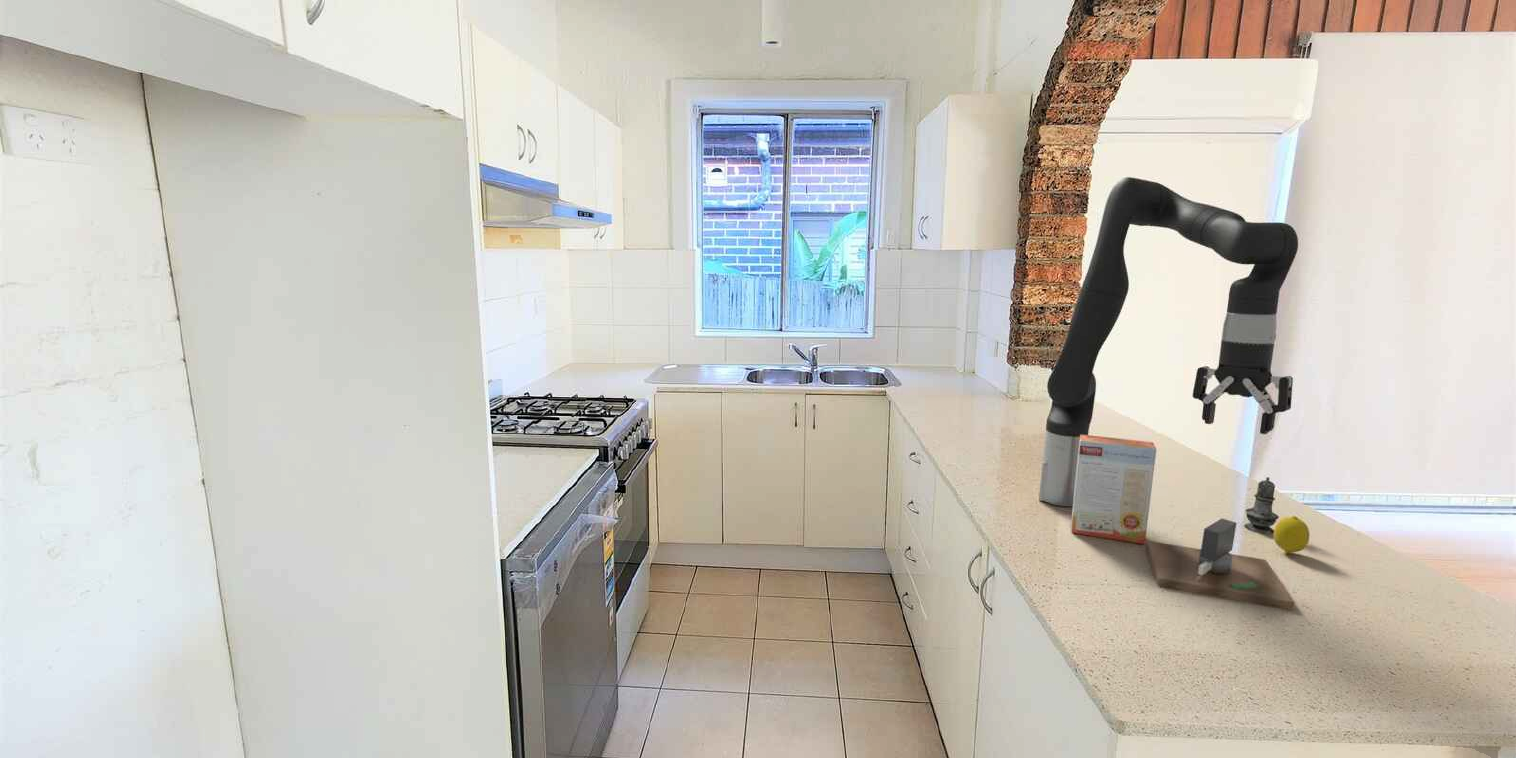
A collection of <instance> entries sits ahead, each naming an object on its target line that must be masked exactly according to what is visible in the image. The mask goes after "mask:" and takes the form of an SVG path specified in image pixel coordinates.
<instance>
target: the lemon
mask: <svg viewBox="0 0 1516 758" xmlns="http://www.w3.org/2000/svg"><path fill="white" fill-rule="evenodd" d="M1273 530H1274V533H1273V540H1274V542H1275V544H1276V545H1277V546H1278V547H1279V548H1280V549H1281V550H1283V551H1284V553H1286V554H1287V555H1289V554H1292V553H1298V552H1301V551H1303V550H1304V549H1305V548H1306V547H1307V546H1308V544H1309V542H1310V541H1309V540H1310V529H1309V527H1308V525H1307V523H1305V522H1304V521H1303V520H1302V519H1300V518H1298V517H1297V516H1295V515H1292V516H1288V517H1284V518H1281V519H1280V520H1279V521H1278V522H1276V525H1275V527H1274V529H1273Z"/></svg>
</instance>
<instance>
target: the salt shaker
mask: <svg viewBox="0 0 1516 758" xmlns="http://www.w3.org/2000/svg"><path fill="white" fill-rule="evenodd" d="M1275 488H1276V485H1275V484H1274V483H1273V482H1272V481H1270V477H1269V476H1267V477H1266V478H1265V480H1260V481H1258V486H1257V491H1256V494H1255V493H1254V497H1255V499H1254V504H1253V507H1251V508H1245V510H1244V511H1245V513H1246V518H1247V520H1248V523H1245V524H1244V525H1243V527H1244V528H1245V529H1247V530H1248V531H1251V532H1254V533H1257V534H1261V535H1262V534H1263V535H1274V530H1275V529H1273V528H1272V526H1274V524H1275V523H1277V520H1278V519H1279V515H1278V514H1277V513H1275V512H1273V503H1274V501H1275V500H1276V498H1275V497H1274V493H1275Z"/></svg>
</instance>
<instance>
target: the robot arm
mask: <svg viewBox="0 0 1516 758" xmlns="http://www.w3.org/2000/svg"><path fill="white" fill-rule="evenodd" d="M1108 194H1109V195H1108V196H1107V199H1106V203H1105V206H1104V210H1103V214H1102V217H1101V221H1100V222H1101V223H1100V227H1099V229H1098V230H1099V232H1098V235H1097V240H1096V243H1095V246H1094V250H1093V253H1092V256H1091V259H1090V263H1089V264H1088V265H1089V266H1088V269H1087V272H1086V274H1085V277H1084V279H1083V282H1082V285H1081V288H1080V290H1079V293H1078V297H1077V299H1076V303H1075V306H1074V309H1073V313H1072V316H1071V319H1070V323H1069V326H1068V329H1067V330H1068V331H1067V334H1066V335H1067V336H1066V339H1065V341H1064V344H1063V347H1062V349H1061V352H1060V354H1059V356H1058V359H1057V361H1056V363H1055V365H1054V367H1053V369H1052V371H1051V374H1050V375H1049V377H1048V380H1047V385H1046V386H1047V387H1046V388H1047V389H1046V390H1047V393H1048V396H1049V398H1050V399H1051V407H1050V411H1049V414H1048V416H1047V419H1046V424H1045V425H1046V426H1045V436H1044V446H1043V456H1042V463H1041V474H1040V484H1039V493H1038V494H1039V495H1038V501H1040V502H1045V503H1048V504H1050V505H1054V506H1060V507H1073V500H1074V490H1075V480H1076V470H1077V461H1078V451H1079V441H1080V435H1089V432H1090V431H1089V430H1090V426H1091V423H1092V419H1093V415H1094V414H1093V413H1094V407H1095V400H1096V393H1097V392H1096V391H1097V381H1096V380H1097V379H1096V377H1095V374H1094V368H1095V365H1096V362H1097V358H1098V356H1099V353H1100V351H1101V349H1102V348H1103V345H1104V344H1105V342H1106V340H1107V338H1108V337H1109V335H1110V334H1111V332H1112V330H1113V329H1114V328H1115V327H1114V326H1115V324H1116V323H1117V321H1118V319H1119V317H1120V315H1121V312H1122V309H1123V306H1124V305H1125V301H1126V299H1127V296H1128V292H1129V288H1130V287H1129V286H1130V283H1129V281H1130V280H1129V274H1128V269H1127V263H1126V260H1125V252H1124V249H1125V242H1126V239H1127V234H1128V231H1129V228H1130V225H1133V226H1138V227H1154V228H1155V227H1157V228H1158V227H1159V228H1165V229H1169V230H1172V231H1175V232H1177V233H1178V234H1179V235H1180V236H1181V237H1183V238H1185V239H1186V240H1188V241H1190V242H1192V243H1195V244H1197V245H1200V246H1202V247H1205V248H1208V249H1211V250H1213V251H1214V253H1216V254H1217V255H1219V256H1220V257H1221V258H1223V259H1224V260H1226V261H1228V262H1230V263H1235V264H1238V265H1253V267H1252V269H1251V271H1250V273H1249V274H1248V275H1247V276H1246V277H1243V278H1239V279H1236V280H1235V281H1233V282H1232V283H1231V285H1230V288H1229V292H1228V300H1227V308H1226V315H1225V318H1224V322H1223V324H1222V325H1223V327H1222V333H1221V339H1220V341H1221V343H1220V350H1219V357H1218V366H1217V367H1216V368H1210V367H1209V366H1207V365H1205V366H1201V367H1198V368H1197V370H1196V375H1195V379H1194V385H1193V390H1192V398H1193V399H1195V400H1198V401H1201V402H1202V404H1203V407H1202V414H1201V419H1202V420H1203V421H1204V424H1206V425H1212V424H1214V422H1215V417H1216V416H1215V415H1216V414H1215V413H1216V406H1217V403H1215V402H1216V401H1217V400H1218V399H1219V398H1220V397H1221V396H1223V395H1224V394H1227V395H1230V396H1241V397H1242V398H1243V397H1244V398H1250V397H1253V399H1254V400H1255V401H1256V403H1258V404H1259V406H1260V407H1261V408H1262V410H1263V411H1264V412H1262V414H1261V415H1262V416H1261V421H1260V430H1259V433H1260V434H1261V435H1267V434H1269V432H1272V431H1273V430H1274V428H1275V420H1276V415H1277V413H1284V412H1286V411H1289V410H1291V407H1292V400H1293V399H1292V397H1293V383H1294V382H1293V381H1294V379H1293V377H1292V376H1291V375H1286V376H1280V375H1279V376H1278V375H1277V376H1276V375H1273V374H1272V372H1271V371H1272V370H1271V368H1272V363H1273V354H1274V349H1275V348H1274V347H1275V341H1276V338H1277V333H1276V332H1277V313H1278V305H1279V299H1280V291H1281V288H1282V286H1283V284H1284V282H1285V281H1286V278H1287V276H1288V275H1289V271H1290V270H1291V267H1292V265H1293V263H1294V261H1295V258H1296V256H1297V253H1298V249H1299V237H1298V234H1297V232H1296V230H1295V229H1294V227H1293V226H1291V224H1288V223H1286V222H1277V221H1276V222H1252V221H1251V222H1249V221H1246V219H1245V218H1244V217H1243V216H1242V215H1240V214H1238V213H1237V212H1234V211H1231V210H1228V209H1224V208H1222V207H1217V206H1215V205H1211V204H1206V203H1201V202H1196V201H1192V200H1190V199H1188V198H1187V197H1184V196H1181V195H1180V194H1179V193H1177V192H1176V191H1174V190H1172V189H1170V188H1169V187H1168V186H1165V185H1163V184H1162V183H1159V182H1156V181H1152V180H1147V179H1141V178H1137V177H1129V176H1127V177H1122V178H1121V179H1120V180H1118V181H1117V182H1116V183H1115V184H1114V186H1112V188H1111V191H1110V192H1109V193H1108ZM1213 376H1214V378H1215V379H1216V380H1217V382H1218V385H1217V386H1216V387H1214V388H1213V389H1212V390H1211V391H1210V393H1208V394H1207V392H1206V390H1207V387H1208V381H1209V380H1210V379H1212V378H1213ZM1271 383H1273V384H1274V387H1275V389H1278V395H1277V404H1276V403H1275V401H1274V400H1273V399H1272V395H1271V394H1270V392H1269V391H1268V390H1267V388H1268V386H1269V385H1270V384H1271Z"/></svg>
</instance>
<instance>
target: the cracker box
mask: <svg viewBox="0 0 1516 758" xmlns="http://www.w3.org/2000/svg"><path fill="white" fill-rule="evenodd" d="M1156 456H1157V447H1156V445H1155V443H1154V442H1153V441H1147V440H1136V439H1127V438H1118V437H1109V436H1099V435H1090V434H1088V435H1080V441H1079V451H1078V461H1077V470H1076V480H1075V490H1074V500H1073V506H1072V511H1071V512H1072V513H1071V525H1070V527H1071V530H1070V531H1071V533H1073V534H1078V535H1085V536H1091V537H1098V538H1103V539H1110V540H1116V541H1123V542H1129V543H1134V544H1140V545H1145V544H1146V537H1147V529H1148V520H1149V512H1150V507H1151V506H1150V504H1151V497H1152V489H1153V480H1154V471H1155V465H1156V463H1155V462H1156Z"/></svg>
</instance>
